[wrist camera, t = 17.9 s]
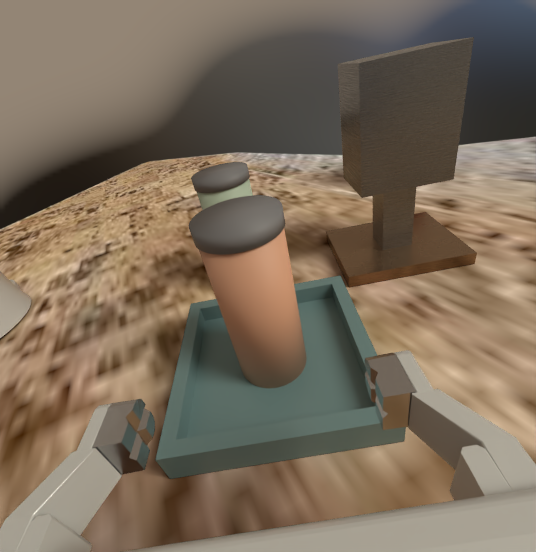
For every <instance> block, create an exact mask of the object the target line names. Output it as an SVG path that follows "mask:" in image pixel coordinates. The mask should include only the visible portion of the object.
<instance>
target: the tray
mask: <svg viewBox="0 0 536 552" xmlns="http://www.w3.org/2000/svg"><path fill="white" fill-rule="evenodd" d="M294 287H295V293H296V299H297V304H298V310H299V316H300V322H301V327H302V333H303V339H304V345H305V350H306V357H307V359H306V365H305V368H304V370H303V371H302V373H301V374H300V375H299V376H298V377H297V378H296V379H295V380H294V381H292V382H291V383H289V384H287V385H284V386H282V387H278V388H261V387H258V386H255V385H253V384H252V383H250V382H249V381H248V380H247V379H246V378H245V376H244V375H243V372H242V370H241V367H240V364H239V361H238V358H237V355H236V353H235V350H234V347H233V344H232V341H231V339H230V336H229V333H228V330H227V327H226V325H225V322H224V319H223V316H222V313H221V310H220V308H219V305H218V302H217V299H214V300H209V301H203V302H198V303H193V304H191V306H190V310H189V315H188V319H187V324H186V328H185V332H184V337H183V341H182V346H181V350H180V354H179V359H178V363H177V368H176V372H175V376H174V381H173V385H172V390H171V394H170V398H169V403H168V407H167V412H166V416H165V420H164V425H163V429H162V434H161V438H160V442H159V447H158V451H157V456H156V461H157V463H158V464H159V465H160V467H161V468H162V469H163V470H164V472H165V473H166V474H167V476H168V477H169V478H170V479H173V478H179V477H185V476H191V475H198V474H204V473H210V472H216V471H222V470H229V469H235V468H241V467H247V466H254V465H260V464H266V463H272V462H278V461H285V460H291V459H297V458H303V457H309V456H316V455H322V454H328V453H334V452H341V451H347V450H353V449H359V448H365V447H372V446H378V445H384V444H390V443H397V442H403V441H404V439H405V429H406V427H402V428H395V429H388V430H383V429H382V427H381V424H380V422H379V419H378V417H377V414H376V404H375V403H374V402H373V401H371V399H370V396H369V393H368V390H367V386H366V381H365V373H366V372H367V370H366V368H365V362H364V360H365V358H368V357H373V356H377V354H376V352H375V349H374V347H373V345H372V343H371V341H370V339H369V336H368V334H367V332H366V330H365V328H364V326H363V323H362V321H361V319H360V317H359V315H358V313H357V310H356V308H355V306H354V304H353V302H352V300H351V297H350V295H349V293H348V291H347V289H346V287H345V284H344V282H343V280H342V278H341V276H335V277H330V278H324V279H319V280H314V281H309V282H303V283H298V284H294Z"/></svg>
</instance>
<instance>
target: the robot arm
mask: <svg viewBox="0 0 536 552" xmlns="http://www.w3.org/2000/svg"><path fill="white" fill-rule="evenodd" d="M30 305H31V298H30V296H29V295H27V294H26V293H25V292H23V291H22V290H20V287H19V285H18V284H17V283H16V282H15V281H14V280H9V279H8V278H7V277H6V276H5V275H4V274H3V273H2V272H1V271H0V338H1V337H2V336H4V335H5V334H6V333H7V332H9V331H10V330H11V329H12V328H13V327H14V326H15V325H16V324H17V323H18V322H19V321H20V320H21V319H22V318H23V317H24V315H25V314H26V313H27V311H28V310H29V308H30ZM364 362H365V368H366V370H367V372H366V373H365V381H366V386H367V390H368V393H369V396H370V399H371V401H373V402H374V403H375V404H376V414H377V417H378V419H379V422H380V424H381V427H382V429H383V430H388V429H395V428H402V427H408V428H409V429H410V430H411V431H412V432H414V433H415V434H416V435H417V436H418V437H419V438H420V439H421V440H422V441H424V442H425V443H426V444H427V445H428V446H429V447H430V448H431V449H433V450H434V451H435V452H436V453H437V454H438V455H439V456H440V457H442V458H443V459H444V460H445V461H446V462H447V463H448V464H449V465H450V466H452V467H453V468H454V469H455V470H456V471H455V474H454V478H453V481H452V485H451V488H450V493H451V495H452V497H453V499H454V501H448V502H442V503H435V504H429V505H422V506H416V507H409V508H403V509H396V510H389V511H383V512H376V513H370V514H363V515H357V516H350V517H344V518H337V519H331V520H324V521H318V522H311V523H305V524H298V525H292V526H285V527H278V528H272V529H265V530H259V531H252V532H246V533H239V534H233V535H226V536H220V537H213V538H207V539H200V540H194V541H187V542H181V543H174V544H168V545H161V546H154V547H148V548H141V549H135V550H128V551H122V552H536V465H535V463H534V462H533V460H532V459H531V458H530V456H529V455H528V454H527V452H526V451H525V450H524V448H523V447H522V446H521V444H520V443H519V442H518V440H517V439H516V437H514V436H512V435H511V434H509V433H508V432H506V431H504V430H503V429H501V428H500V427H498V426H496V425H495V424H493V423H492V422H490V421H488V420H487V419H485V418H484V417H482V416H480V415H479V414H477V413H476V412H474V411H473V410H471V409H469V408H468V407H466V406H465V405H463V404H461V403H460V402H458V401H457V400H455V399H453V398H452V397H450V396H449V395H447V394H445V393H444V392H442V391H441V390H439V389H433V388H432V386H431V385H430V383H429V381H428V380H427V378H426V376H425V375H424V373H423V371H422V370H421V368H420V366H419V365H418V363H417V361H416V360H415V358H414V356H413V355H412V353H411V352H410V351H409V350H406V351H401V352H396V353H388V354H383V355H378V356H373V357H368V358H365V360H364ZM144 407H145V403H144V402H143V401H142V399H138V400H131V401H125V402H118V403H111V404H106V405H100V406H98V407H97V408H96V409H95V411H94V413H93V415H92V417H91V420H90V422H89V424H88V426H87V429H86V431H85V433H84V435H83V438H82V440H81V442H80V444H79V447H78V449H77V451H75V452H72V453H71V454H70V455H69V456H68V457H67V458H66V459H65V460H64V461H63V462H62V463H61V464H60V465H59V466H58V467H57V468H56V469H55V470H54V471H53V472H52V473H51V474H50V475H49V476H48V477H47V478H46V479H45V480H44V481H43V482H42V483H41V484H40V485H39V486H38V487H37V488H36V489H35V490H34V491H33V492H32V493H31V494H30V495H29V496H28V497H27V498H26V499H25V500H24V501H23V502H22V503H21V504H20V505H19V506H18V507H17V508H16V509H15V510H14V511H13V512H12V513H11V514H10V515H9V516H8V517H7V518H6V519H5V521H4V523H3V525H2V527H1V529H0V552H90V551H91V548H92V546H91V543H90V542H89V541H87V540H86V539H85V538H83V537H82V536H80V535H81V534H82V532H83V531H84V529H85V528H86V526H87V525H88V523H89V522H90V521H91V519H92V518H93V516H94V515H95V513H96V512H97V511H98V509H99V508H100V506H101V505H102V503H103V502H104V501H105V499H106V498H107V496H108V495H109V493H110V492H111V491H112V489H113V488H114V486H115V485H116V483H117V482H118V481H119V479H120V478H121V476H122V474H127V473H132V472H137V471H142V470H145V467H146V463H147V459H148V455H149V451H150V450H149V448H148V446H147V444H148V443H149V442H150V441H151V440H152V438H153V435H154V431H155V421H154V418H153V415H152V413H151V412H150V411H148V410H146V409H144Z"/></svg>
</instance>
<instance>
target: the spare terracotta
mask: <svg viewBox="0 0 536 552" xmlns="http://www.w3.org/2000/svg"><path fill="white" fill-rule="evenodd" d="M284 227H285V219H284V213H283V207H282V203H281V202H280V201H279V200H278V199H276V198H273V197H270V196H261V195H255V196H244V197H238V198H233V199H229V200H225V201H222V202H219V203H217V204H214V205H212V206H210V207H208V208H206V209H204V210H202V211H201V212H199V213H198V214H197V215H195V216H194V217H193V218H192V220H191V221H190V223H189V229H190V232H191V235H192V237H193V240H194V243H195V245H196V247H197V248H198V249H199V251H200V254H201V257H202V260H203V263H204V265H205V268H206V271H207V274H208V277H209V280H210V282H211V285H212V288H213V291H214V294H215V296H216V299H217V302H218V305H219V308H220V310H221V313H222V316H223V319H224V322H225V325H226V327H227V330H228V333H229V336H230V339H231V341H232V344H233V347H234V350H235V353H236V355H237V358H238V361H239V364H240V367H241V370H242V372H243V375H244V376H245V378H246V379H247V380H248V381H249V382H250V383H252V384H253V385H255V386H258V387H261V388H278V387H282V386H284V385H287V384H289V383H291V382H292V381H294V380H295V379H296V378H297V377H298V376H299V375H300V374H301V373H302V371H303V370H304V368H305V365H306V359H307V357H306V350H305V345H304V339H303V333H302V327H301V322H300V316H299V310H298V304H297V299H296V293H295V287H294V281H293V276H292V270H291V264H290V258H289V253H288V247H287V241H286V235H285V230H284Z"/></svg>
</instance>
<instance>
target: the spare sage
mask: <svg viewBox="0 0 536 552" xmlns="http://www.w3.org/2000/svg"><path fill="white" fill-rule="evenodd" d="M249 177H250V176H249V172H248V167H247V164H246V163H242V162H232V163H224V164H220V165H216V166H212V167H209V168H206V169H204V170H201V171H199V172H197V173H196V174H194V175H193V176H192V178H191V179H192V182H193V185H194V188H195V191H197V194H198V197H199V200H200V203H201V206H202V210H204V209H206V208H208V207H210V206H212V205H214V204H217V203H219V202H222V201H225V200H229V199H233V198H238V197H244V196H253V195H252V190H251V186H250V181H249Z"/></svg>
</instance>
